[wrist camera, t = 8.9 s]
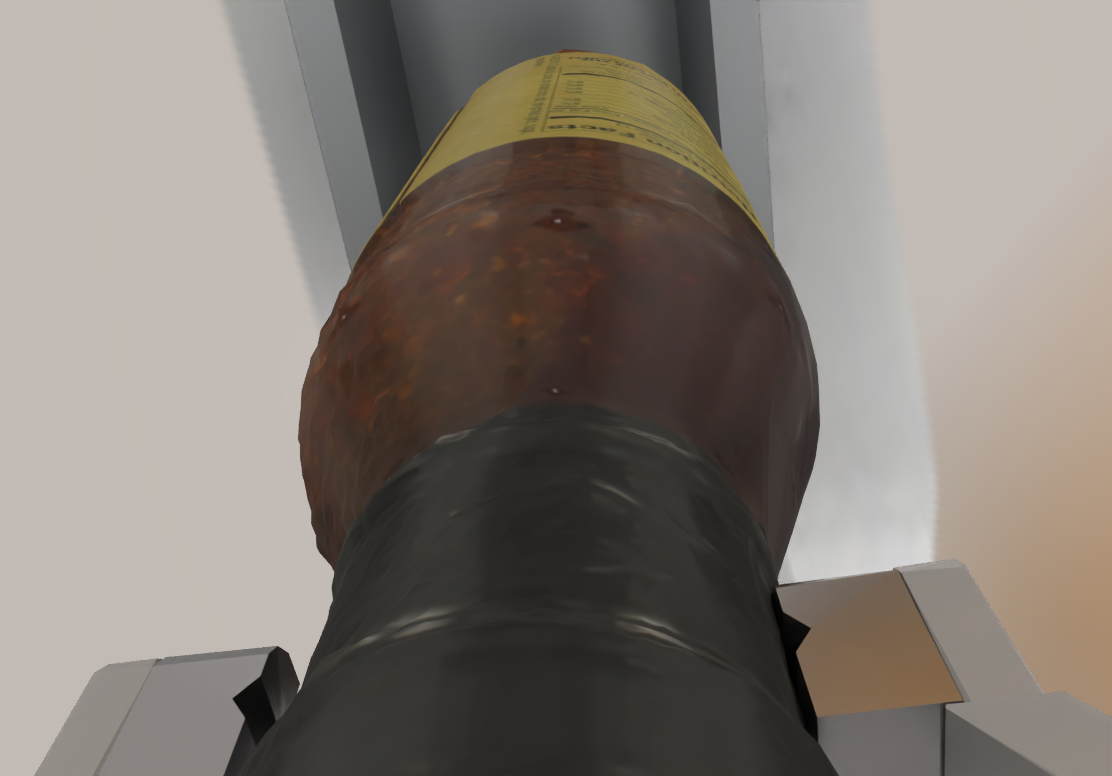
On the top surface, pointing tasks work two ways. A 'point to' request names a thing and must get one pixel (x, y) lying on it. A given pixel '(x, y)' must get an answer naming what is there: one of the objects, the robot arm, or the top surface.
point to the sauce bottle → (558, 455)
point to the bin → (488, 49)
